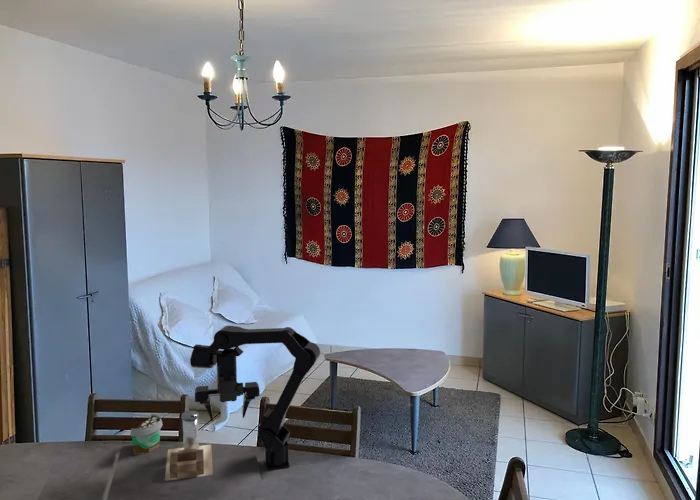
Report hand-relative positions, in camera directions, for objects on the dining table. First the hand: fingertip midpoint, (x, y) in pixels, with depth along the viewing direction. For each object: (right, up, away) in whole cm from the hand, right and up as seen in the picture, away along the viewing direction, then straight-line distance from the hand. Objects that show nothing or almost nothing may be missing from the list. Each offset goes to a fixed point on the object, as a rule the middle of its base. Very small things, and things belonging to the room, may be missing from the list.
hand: (227, 418), depth 170 cm
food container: (-25, -13, +6) cm, 29 cm away
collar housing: (-11, -13, -2) cm, 17 cm away
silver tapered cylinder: (-11, -11, +1) cm, 16 cm away
